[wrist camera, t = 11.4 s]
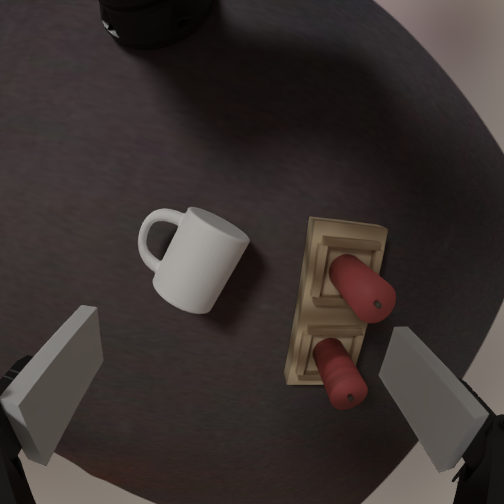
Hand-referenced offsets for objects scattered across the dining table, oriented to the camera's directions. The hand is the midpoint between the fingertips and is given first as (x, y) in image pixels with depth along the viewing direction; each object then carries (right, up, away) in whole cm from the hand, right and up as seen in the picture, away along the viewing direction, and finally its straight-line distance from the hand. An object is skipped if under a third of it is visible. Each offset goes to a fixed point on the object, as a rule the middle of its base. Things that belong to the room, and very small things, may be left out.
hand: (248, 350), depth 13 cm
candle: (+12, +2, +27) cm, 30 cm away
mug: (-8, +5, +28) cm, 30 cm away
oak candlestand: (+11, -3, +31) cm, 33 cm away
